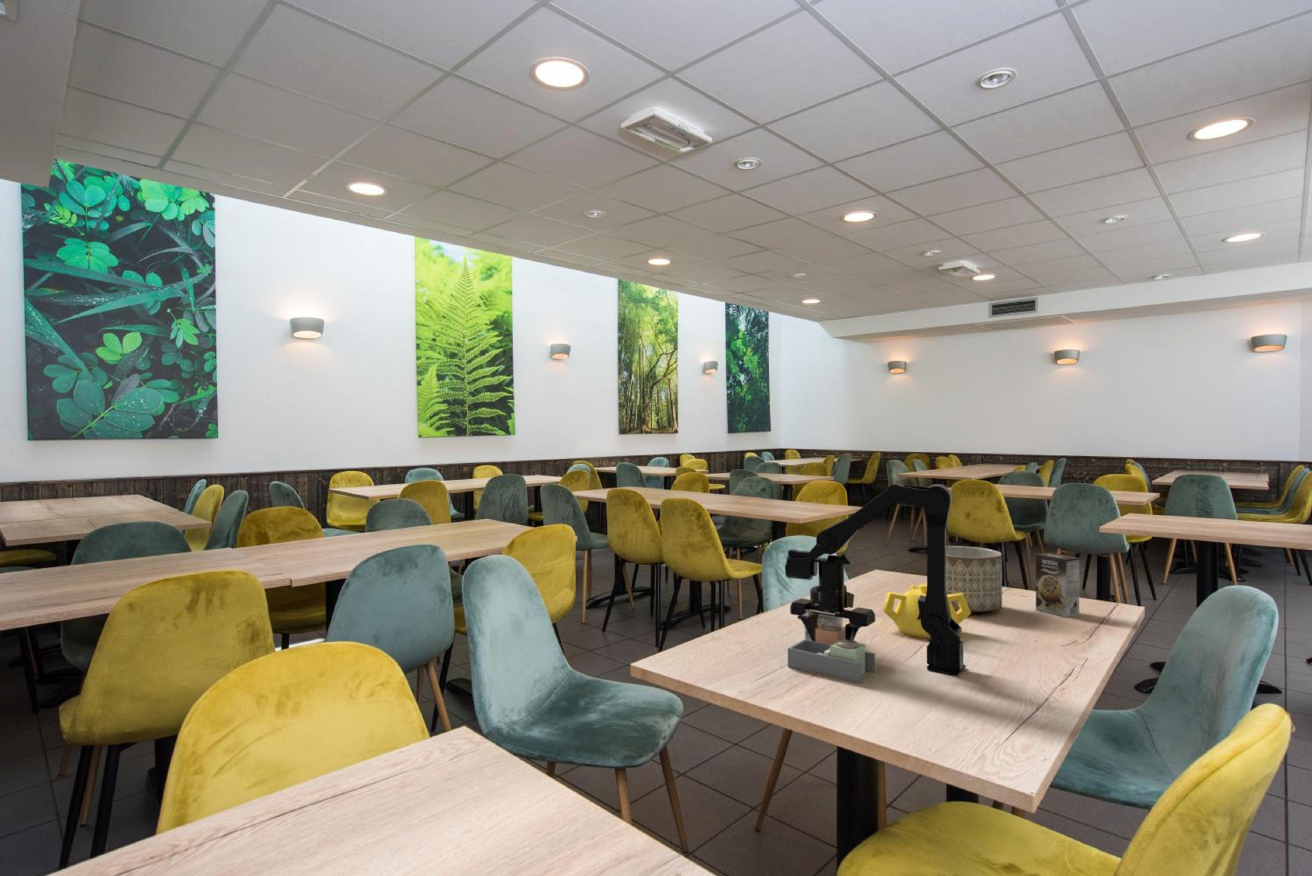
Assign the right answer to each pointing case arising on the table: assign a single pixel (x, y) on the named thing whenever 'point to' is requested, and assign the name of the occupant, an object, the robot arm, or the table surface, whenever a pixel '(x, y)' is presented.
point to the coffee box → (1057, 584)
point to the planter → (974, 577)
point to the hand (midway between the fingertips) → (831, 648)
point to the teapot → (909, 610)
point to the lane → (827, 661)
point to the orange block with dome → (830, 633)
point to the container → (821, 618)
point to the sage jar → (849, 651)
